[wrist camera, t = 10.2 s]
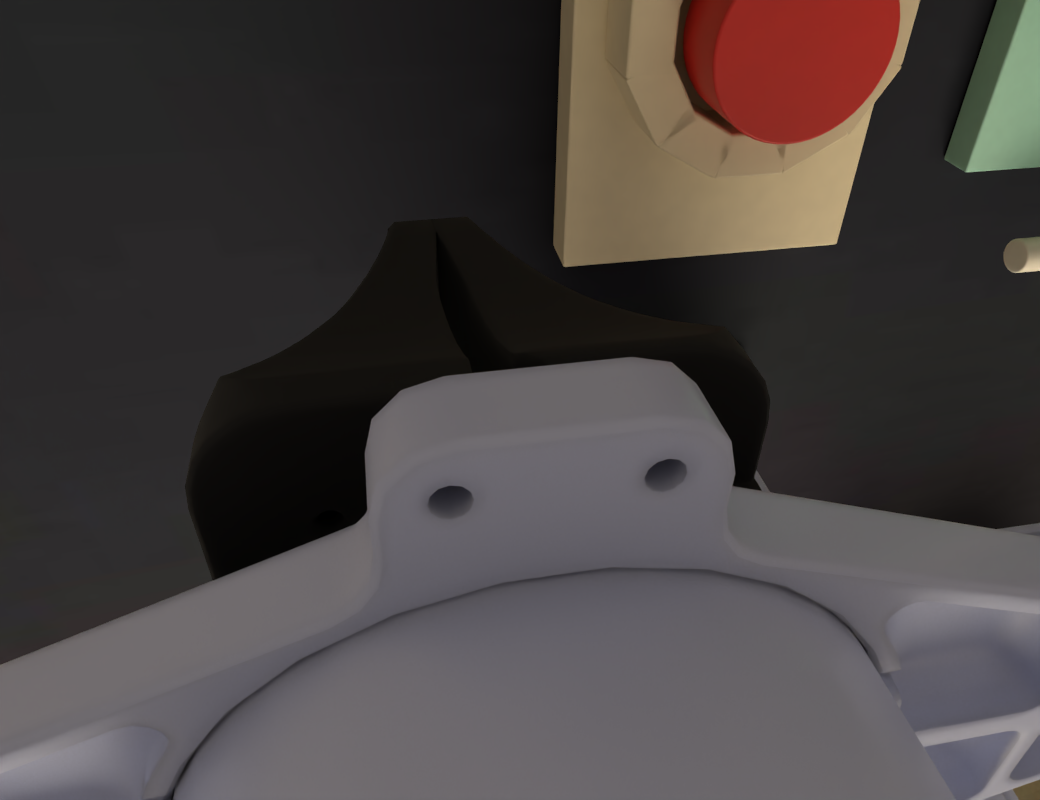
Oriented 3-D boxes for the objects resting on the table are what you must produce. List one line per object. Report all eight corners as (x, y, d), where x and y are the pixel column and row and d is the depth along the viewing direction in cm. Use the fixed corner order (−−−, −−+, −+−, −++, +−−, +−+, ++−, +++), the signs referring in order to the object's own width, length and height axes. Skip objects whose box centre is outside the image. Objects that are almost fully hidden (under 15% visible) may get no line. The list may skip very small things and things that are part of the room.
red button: (830, 113, 21) (871, 140, 20) (671, 122, 21) (700, 151, 19) (876, -80, 19) (927, -67, 17) (694, -77, 18) (730, -63, 16)
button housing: (815, 225, 27) (869, 275, 24) (552, 246, 26) (578, 301, 23) (928, -231, 20) (1024, -233, 17) (568, -235, 18) (609, -238, 16)
